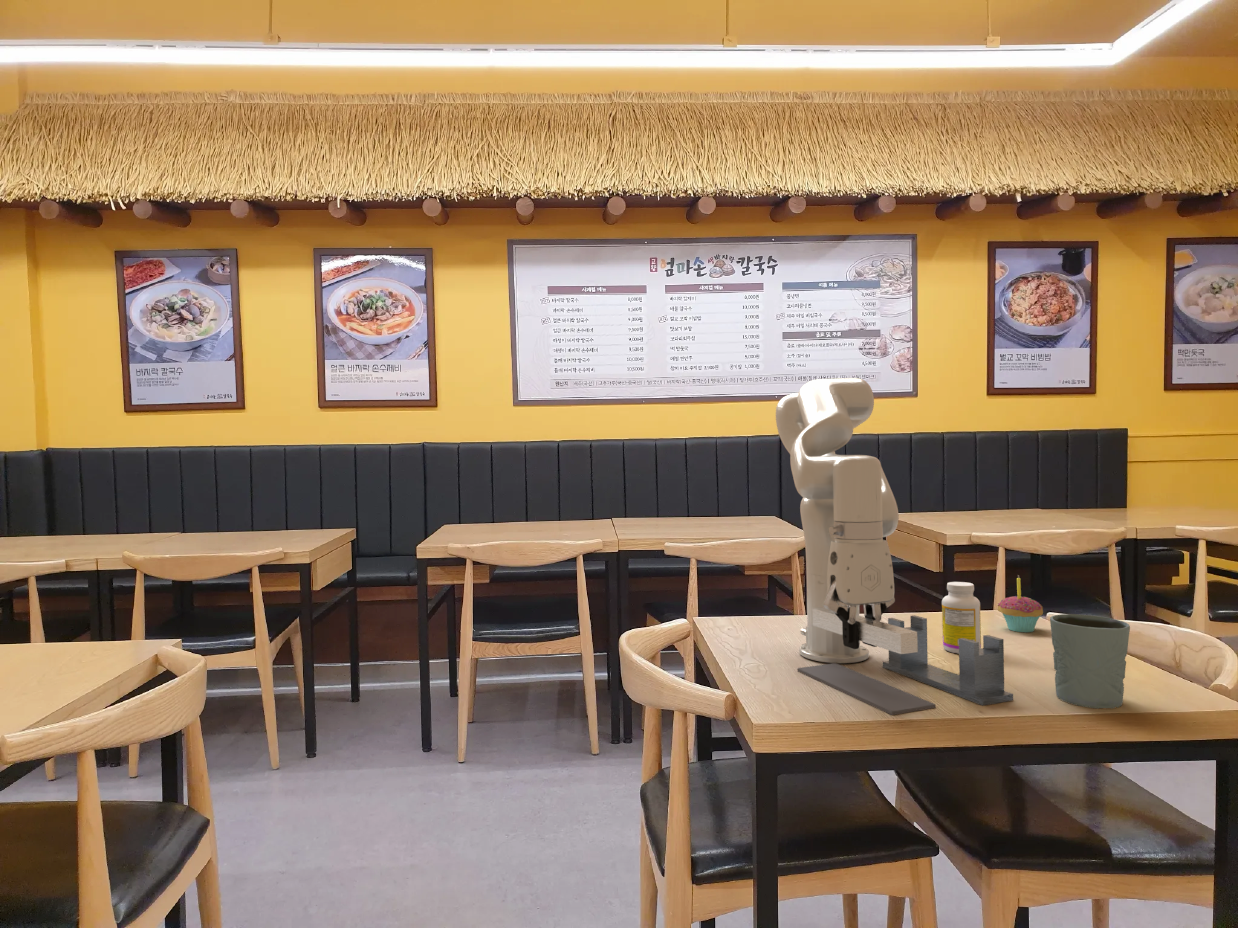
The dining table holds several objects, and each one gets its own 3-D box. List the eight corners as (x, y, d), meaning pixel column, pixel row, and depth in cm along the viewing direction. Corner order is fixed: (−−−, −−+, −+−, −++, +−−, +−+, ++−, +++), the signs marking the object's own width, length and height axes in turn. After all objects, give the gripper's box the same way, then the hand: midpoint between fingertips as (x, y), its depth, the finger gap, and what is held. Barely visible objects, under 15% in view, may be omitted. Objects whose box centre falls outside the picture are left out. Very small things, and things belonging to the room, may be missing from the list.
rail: (812, 625, 127) (812, 608, 127) (827, 623, 128) (826, 606, 128) (901, 654, 107) (900, 633, 107) (917, 652, 108) (917, 631, 108)
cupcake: (1042, 636, 149) (1041, 577, 149) (995, 631, 154) (994, 574, 154) (1044, 627, 156) (1043, 571, 156) (1000, 623, 161) (999, 569, 161)
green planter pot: (1036, 692, 114) (1034, 616, 114) (1086, 685, 117) (1085, 611, 117) (1094, 713, 104) (1093, 630, 104) (1148, 706, 107) (1146, 624, 107)
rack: (882, 667, 129) (881, 616, 129) (909, 663, 131) (908, 613, 131) (982, 705, 109) (981, 645, 109) (1013, 700, 111) (1012, 641, 111)
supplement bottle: (956, 644, 144) (955, 579, 144) (988, 651, 138) (987, 584, 138) (935, 649, 140) (934, 583, 140) (967, 657, 135) (966, 587, 135)
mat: (797, 670, 128) (797, 667, 128) (835, 665, 131) (835, 662, 131) (891, 714, 105) (891, 711, 105) (935, 707, 108) (935, 704, 108)
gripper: (829, 536, 112) (832, 656, 111) (915, 531, 117) (917, 646, 117) (801, 532, 119) (803, 645, 118) (883, 528, 124) (886, 636, 124)
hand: (860, 644), depth 118 cm, fingers closed on rail, 3 cm apart
